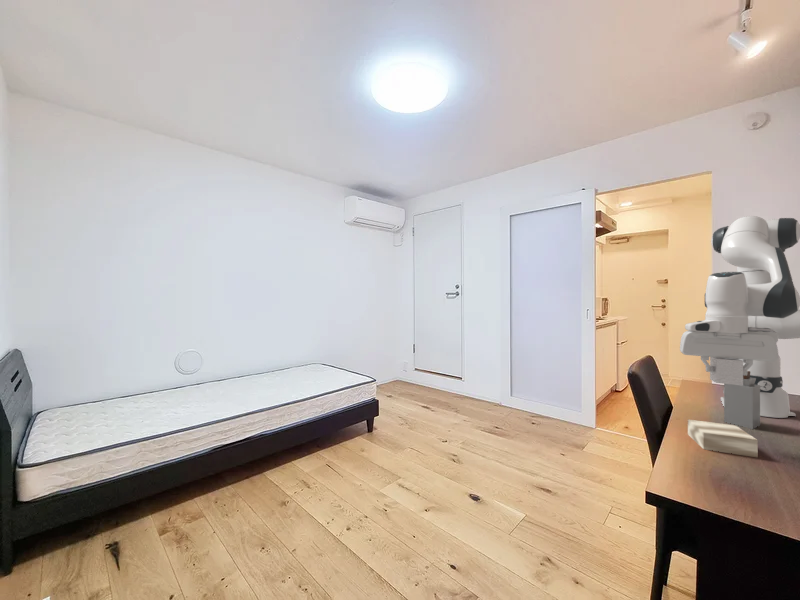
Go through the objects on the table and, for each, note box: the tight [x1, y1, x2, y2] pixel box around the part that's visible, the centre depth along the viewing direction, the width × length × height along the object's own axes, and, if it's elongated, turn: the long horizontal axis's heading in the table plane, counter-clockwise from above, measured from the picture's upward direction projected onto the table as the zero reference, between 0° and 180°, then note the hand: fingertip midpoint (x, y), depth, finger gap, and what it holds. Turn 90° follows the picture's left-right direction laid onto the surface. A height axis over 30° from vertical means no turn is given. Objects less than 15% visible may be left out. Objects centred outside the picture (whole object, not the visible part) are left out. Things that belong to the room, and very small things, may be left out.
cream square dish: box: [687, 419, 759, 458], centre depth 91 cm, size 11×11×5 cm
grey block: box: [709, 357, 743, 386], centre depth 93 cm, size 6×6×7 cm
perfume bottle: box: [723, 371, 761, 430], centre depth 107 cm, size 7×7×18 cm
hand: (725, 373), depth 93 cm, fingers closed on grey block, 5 cm apart
